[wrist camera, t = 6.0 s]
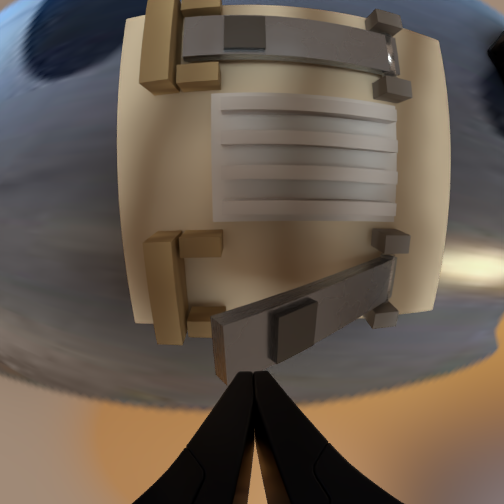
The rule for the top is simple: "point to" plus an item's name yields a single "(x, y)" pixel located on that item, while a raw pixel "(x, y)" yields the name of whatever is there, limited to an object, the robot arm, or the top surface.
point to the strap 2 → (297, 317)
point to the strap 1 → (289, 42)
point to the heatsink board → (275, 170)
